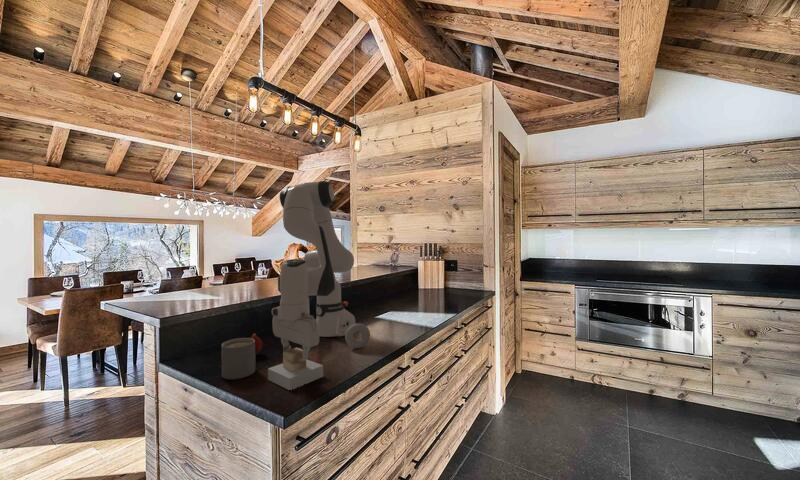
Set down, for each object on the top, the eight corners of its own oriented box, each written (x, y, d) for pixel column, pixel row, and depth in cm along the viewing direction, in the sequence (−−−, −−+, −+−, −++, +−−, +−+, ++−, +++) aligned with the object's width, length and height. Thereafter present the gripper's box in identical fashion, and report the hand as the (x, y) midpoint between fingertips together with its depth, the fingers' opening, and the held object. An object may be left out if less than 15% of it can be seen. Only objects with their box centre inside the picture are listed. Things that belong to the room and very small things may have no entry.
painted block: (301, 368, 111) (300, 357, 111) (323, 377, 103) (323, 365, 103) (268, 381, 102) (267, 368, 101) (289, 392, 94) (289, 378, 94)
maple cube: (297, 362, 106) (296, 347, 106) (306, 366, 103) (306, 350, 103) (283, 367, 102) (282, 351, 102) (292, 371, 99) (292, 355, 99)
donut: (345, 350, 126) (345, 325, 126) (344, 347, 130) (344, 323, 130) (370, 348, 129) (370, 323, 129) (369, 345, 132) (369, 321, 132)
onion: (256, 358, 119) (255, 336, 119) (242, 357, 120) (241, 336, 120) (265, 353, 125) (265, 332, 125) (252, 352, 126) (252, 331, 126)
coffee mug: (252, 377, 103) (252, 345, 103) (217, 381, 101) (217, 349, 101) (259, 361, 116) (259, 333, 116) (228, 364, 114) (228, 336, 114)
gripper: (324, 314, 98) (324, 359, 98) (285, 305, 111) (286, 345, 111) (306, 318, 93) (307, 366, 94) (268, 308, 106) (269, 351, 106)
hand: (295, 354), depth 102 cm, fingers open, 8 cm apart
